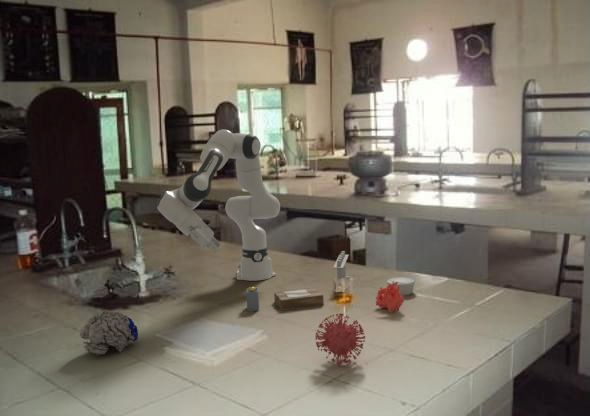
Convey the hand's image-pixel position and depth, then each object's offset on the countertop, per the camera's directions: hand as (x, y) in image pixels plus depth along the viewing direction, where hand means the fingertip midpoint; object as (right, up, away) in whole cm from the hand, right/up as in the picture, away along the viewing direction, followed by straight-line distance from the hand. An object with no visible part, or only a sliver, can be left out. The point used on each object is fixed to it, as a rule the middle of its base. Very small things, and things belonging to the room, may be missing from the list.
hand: (218, 248), depth 244 cm
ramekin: (+74, -20, +17) cm, 78 cm away
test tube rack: (+51, -18, +33) cm, 63 cm away
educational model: (-31, -32, -35) cm, 57 cm away
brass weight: (+13, -17, +3) cm, 22 cm away
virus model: (+44, -31, -55) cm, 77 cm away
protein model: (+66, -23, -5) cm, 70 cm away
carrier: (+13, -24, +4) cm, 28 cm away
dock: (+31, -23, +8) cm, 39 cm away
